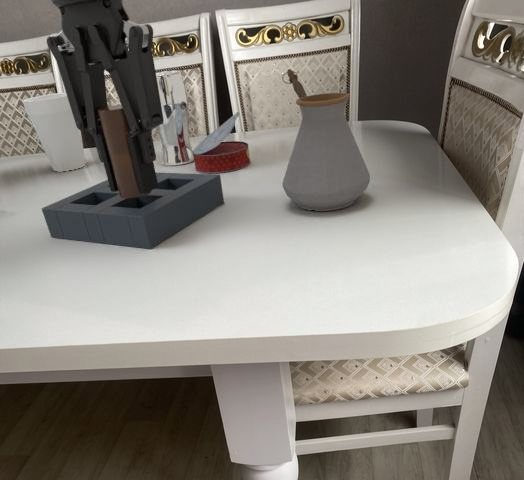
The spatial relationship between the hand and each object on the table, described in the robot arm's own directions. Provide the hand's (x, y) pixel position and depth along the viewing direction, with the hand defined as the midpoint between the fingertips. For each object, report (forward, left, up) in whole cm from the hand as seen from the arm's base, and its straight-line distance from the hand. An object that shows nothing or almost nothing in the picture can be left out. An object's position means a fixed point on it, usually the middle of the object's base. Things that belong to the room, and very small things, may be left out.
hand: (134, 188), depth 66 cm
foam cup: (-41, +27, -6) cm, 49 cm away
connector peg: (0, 0, -1) cm, 1 cm away
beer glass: (-18, +33, -6) cm, 38 cm away
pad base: (-4, +4, -6) cm, 8 cm away
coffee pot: (+16, +19, -6) cm, 25 cm away
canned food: (-7, +31, -6) cm, 32 cm away
